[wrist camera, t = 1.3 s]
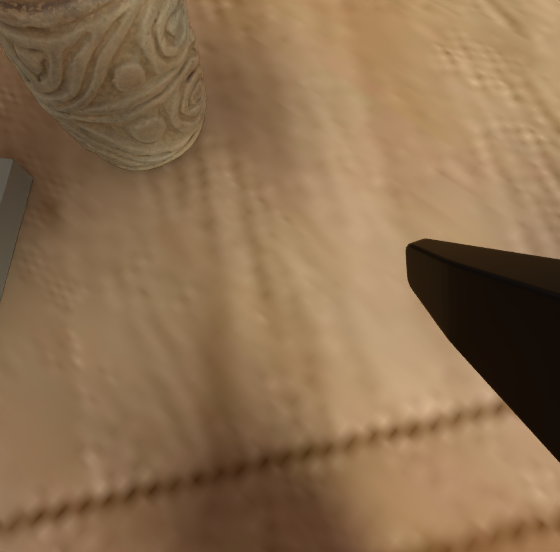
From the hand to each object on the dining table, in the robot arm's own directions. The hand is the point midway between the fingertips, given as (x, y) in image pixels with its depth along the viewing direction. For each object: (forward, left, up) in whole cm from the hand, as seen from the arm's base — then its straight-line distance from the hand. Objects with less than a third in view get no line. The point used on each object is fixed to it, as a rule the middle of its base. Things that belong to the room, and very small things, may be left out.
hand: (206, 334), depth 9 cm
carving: (+12, +7, -14) cm, 20 cm away
